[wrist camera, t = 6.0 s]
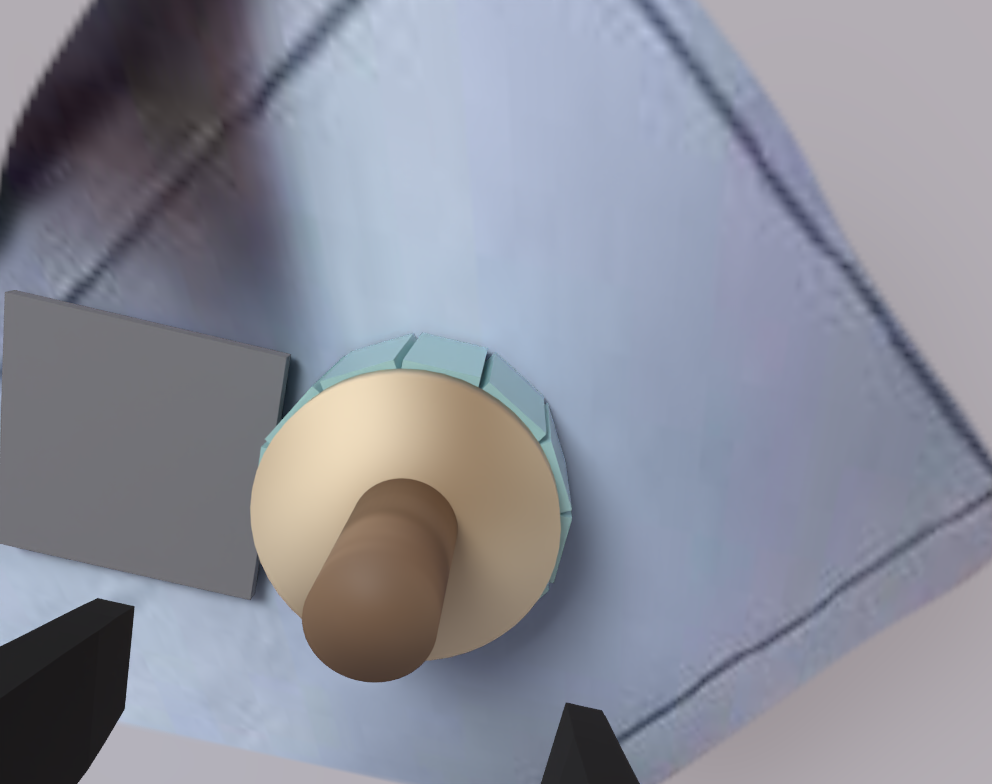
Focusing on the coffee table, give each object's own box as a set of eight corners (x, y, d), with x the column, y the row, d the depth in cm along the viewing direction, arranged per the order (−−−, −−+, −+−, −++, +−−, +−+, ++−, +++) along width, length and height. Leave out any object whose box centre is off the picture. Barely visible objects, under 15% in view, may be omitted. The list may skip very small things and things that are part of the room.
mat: (5, 536, 23) (-3, 543, 22) (14, 289, 20) (4, 292, 20) (254, 593, 23) (250, 600, 22) (290, 354, 21) (286, 357, 20)
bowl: (276, 555, 22) (236, 614, 19) (315, 307, 20) (278, 330, 17) (526, 611, 23) (525, 679, 20) (592, 372, 20) (604, 406, 17)
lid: (241, 603, 19) (151, 736, 15) (288, 333, 17) (200, 389, 13) (515, 670, 19) (512, 822, 15) (596, 412, 17) (620, 496, 13)
